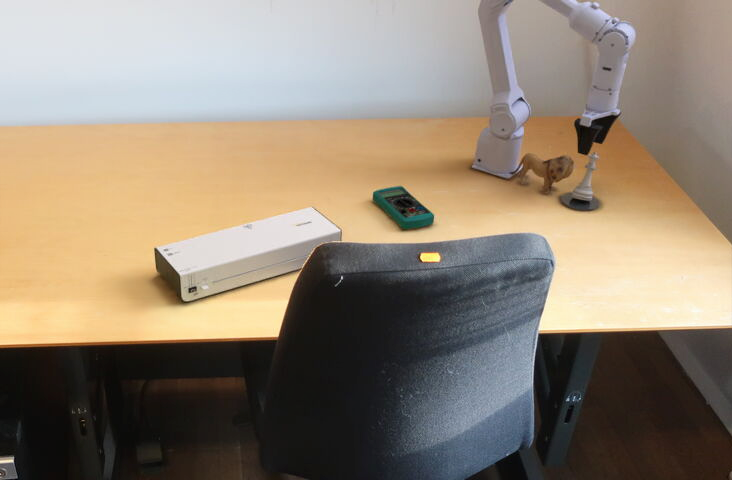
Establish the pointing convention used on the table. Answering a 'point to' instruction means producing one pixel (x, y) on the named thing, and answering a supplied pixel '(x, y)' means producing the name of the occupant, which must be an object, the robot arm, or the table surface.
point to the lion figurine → (546, 169)
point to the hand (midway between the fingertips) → (590, 148)
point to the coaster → (579, 203)
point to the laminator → (243, 253)
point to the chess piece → (586, 181)
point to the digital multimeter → (403, 207)
